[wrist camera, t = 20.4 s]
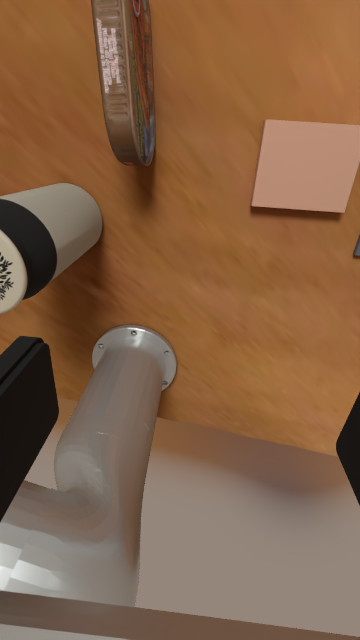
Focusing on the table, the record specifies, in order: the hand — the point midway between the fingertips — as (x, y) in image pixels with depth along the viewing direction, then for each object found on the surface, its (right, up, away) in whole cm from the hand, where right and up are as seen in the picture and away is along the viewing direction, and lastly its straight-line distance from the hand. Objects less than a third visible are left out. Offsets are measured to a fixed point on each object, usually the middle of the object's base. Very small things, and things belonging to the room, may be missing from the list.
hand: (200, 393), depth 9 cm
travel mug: (-14, +14, +28) cm, 34 cm away
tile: (+12, +15, +25) cm, 32 cm away
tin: (-5, +26, +21) cm, 34 cm away
